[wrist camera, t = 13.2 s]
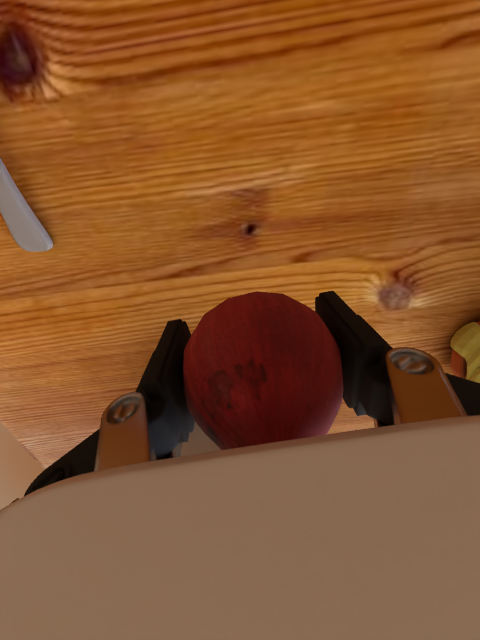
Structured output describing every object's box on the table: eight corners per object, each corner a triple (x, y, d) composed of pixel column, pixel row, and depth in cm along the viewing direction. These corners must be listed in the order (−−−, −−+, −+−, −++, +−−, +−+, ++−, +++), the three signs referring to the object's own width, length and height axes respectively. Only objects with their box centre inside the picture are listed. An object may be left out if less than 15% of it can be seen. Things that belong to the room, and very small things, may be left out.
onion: (196, 359, 13) (161, 549, 6) (195, 261, 10) (126, 416, 3) (294, 362, 14) (361, 543, 7) (319, 270, 11) (482, 423, 4)
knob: (192, 428, 21) (184, 486, 17) (186, 416, 20) (177, 475, 16) (245, 419, 21) (251, 476, 17) (241, 406, 20) (247, 463, 16)
